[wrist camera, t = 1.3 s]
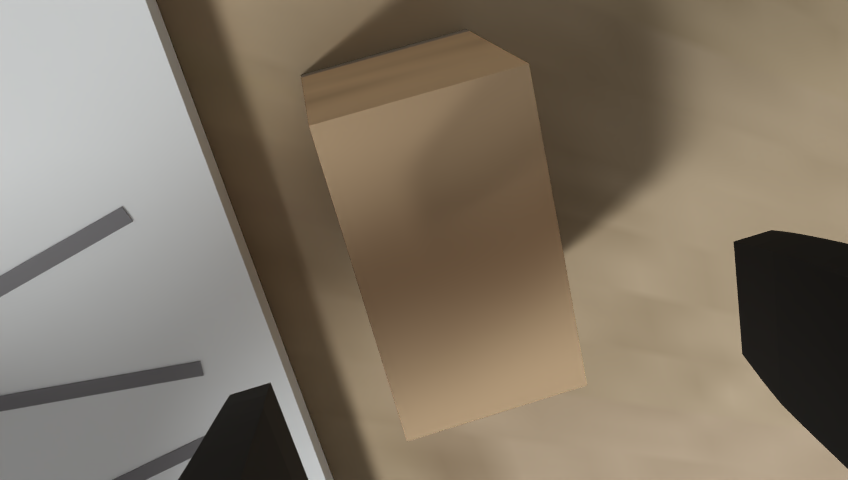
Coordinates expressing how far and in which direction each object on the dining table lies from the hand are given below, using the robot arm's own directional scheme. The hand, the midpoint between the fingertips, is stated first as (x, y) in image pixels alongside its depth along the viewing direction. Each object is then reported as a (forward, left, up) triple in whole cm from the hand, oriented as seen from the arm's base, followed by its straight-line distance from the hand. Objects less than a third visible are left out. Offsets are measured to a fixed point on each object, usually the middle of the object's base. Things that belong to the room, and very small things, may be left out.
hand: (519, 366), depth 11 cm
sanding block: (0, 0, -9) cm, 9 cm away
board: (-5, +8, -8) cm, 13 cm away
